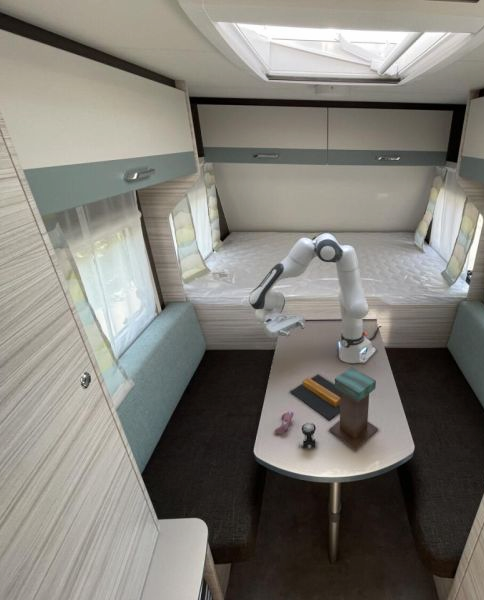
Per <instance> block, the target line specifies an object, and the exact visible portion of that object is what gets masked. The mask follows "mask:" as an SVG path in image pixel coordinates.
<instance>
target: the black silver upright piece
mask: <svg viewBox="0 0 484 600" xmlns="http://www.w3.org/2000/svg"><path fill="white" fill-rule="evenodd" d="M316 430H317V427H316V425H315V424H314V423H313V422H306V423H304V424H303V425H302V426H301V433H302V435H304V438H303V439H302V441H301V442H298V446H299V447H303V448H307V449H311V448H313V449H314V448H316V438H315V436H314V434H315V432H316Z"/></svg>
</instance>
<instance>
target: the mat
mask: <svg viewBox="0 0 484 600" xmlns="http://www.w3.org/2000/svg"><path fill="white" fill-rule="evenodd" d="M310 379H311V380H313V381H315V382H316V383H318V384H319V385H321V386H322V387H324V388H326V389H327V390H329V391H330V392H332V393H334V394H335V395H337V396H338V397H340V390H339V389H337V388H336V387H335V383H333V382H331V381H329V380H328V379H326V378H324V377H323V376H321V375H320V374H316V375H315V376H313V377H312V378H310ZM290 393H291V394H292V395H294V396H295V397H296V398H298V400H300V401H302V403H304V404H306V405H307V406H308V407H310V408H311V409H313V410H314V411H315V412H317V413H318V414H320V415H321V416H322V417H324V418H325V419H326V420H327V421H331V420H332V419H334V418H335V417H337V415H340V405H338V406H337V407H335V406H333V405H331V404H330V403H328V402H327V401H325V400H324V399H322V398H321V397H319V396H318V395H316V394H315V393H313V392H312V391H310V390H309V389H307V388H306V387H304V386H303V383H302V384H300V385H299V386H297V387H295V388H294V389H292V390H290Z"/></svg>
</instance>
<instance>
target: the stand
mask: <svg viewBox="0 0 484 600" xmlns="http://www.w3.org/2000/svg"><path fill="white" fill-rule="evenodd" d="M334 385H335V387H336V388H337V389H339V390H340V413H339V421H337V422H336V423H335V424H334V425H332V426H331V427H330V428H329V432H330V433H331V434H332V435H334V436H335V437H336V438H338V439H339V440H341V441H342V442H343V443H344V444H345V445H347V446H348V447H350V448H351V449H353V450H354V451H355V452H356V451H357V450H358V449H359V448H360V447H361V446H362V445H363V444H365V442H366V441H368V440H369V439H370V438H371V437H372V436H374V435H375V433H376V432H377V431H378V427H376V426H375V425H374V424H372V423H370V422H369V406H370V405H369V403H370V394H371V393H372V392H373V391H374V390H376V385H377V380H376V379H375V378H373V377H370V376H369V375H367V374H365V373H364V372H362V371H360V370H359V369H356V368H355V367H354V366H353V367H350V368H348V369H347V370H345V371H344V372H343V373H341V374H339V375H338V376H336V377H335V378H334Z"/></svg>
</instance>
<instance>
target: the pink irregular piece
mask: <svg viewBox="0 0 484 600" xmlns="http://www.w3.org/2000/svg"><path fill="white" fill-rule="evenodd" d="M294 415H295V412H293V411H290V410H288V411H287V412H284V413H283V414H282V415H281V419H283V420H282V422H281V425H280V426H278V427H277V428H275V429H274V433H275V434H277V435H281V434H283V433H284V432H286V431H287V430H289V429H290V424H291V420H292V419H293V417H294Z"/></svg>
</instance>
